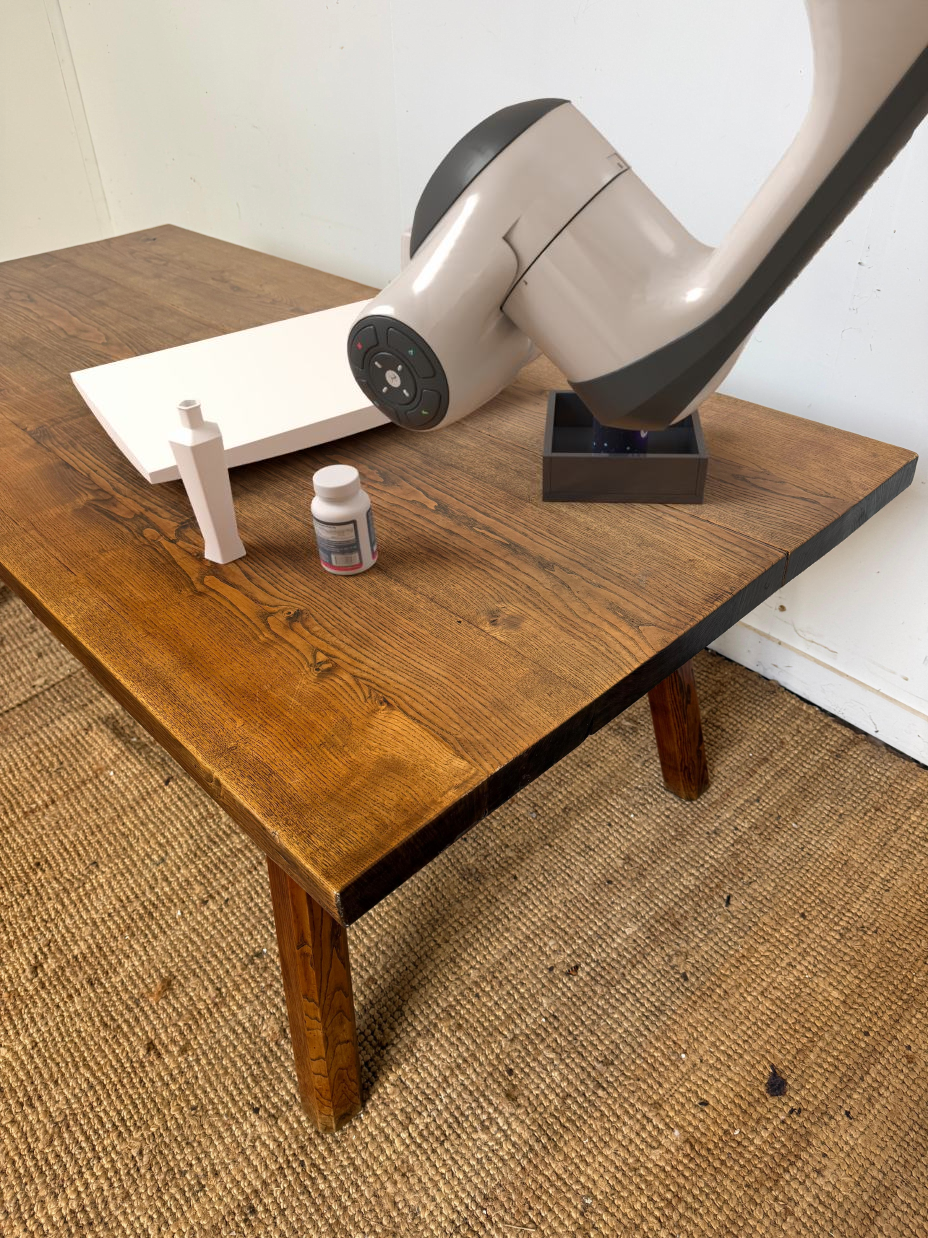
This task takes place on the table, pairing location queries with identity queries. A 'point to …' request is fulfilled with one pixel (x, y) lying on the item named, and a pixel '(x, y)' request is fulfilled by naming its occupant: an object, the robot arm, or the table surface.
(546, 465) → the open box
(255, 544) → the table surface
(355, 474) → the pill bottle
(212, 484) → the perfume bottle
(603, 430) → the beverage can
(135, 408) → the board
